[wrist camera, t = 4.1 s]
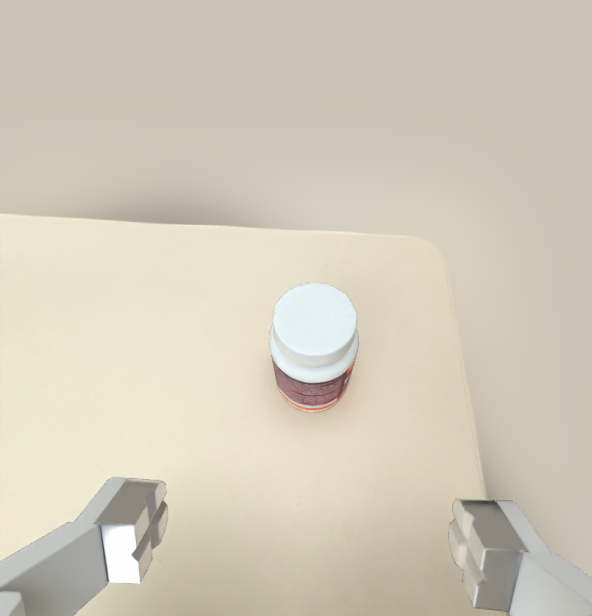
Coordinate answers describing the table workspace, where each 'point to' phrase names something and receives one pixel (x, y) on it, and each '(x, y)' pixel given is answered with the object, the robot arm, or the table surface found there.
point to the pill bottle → (313, 345)
